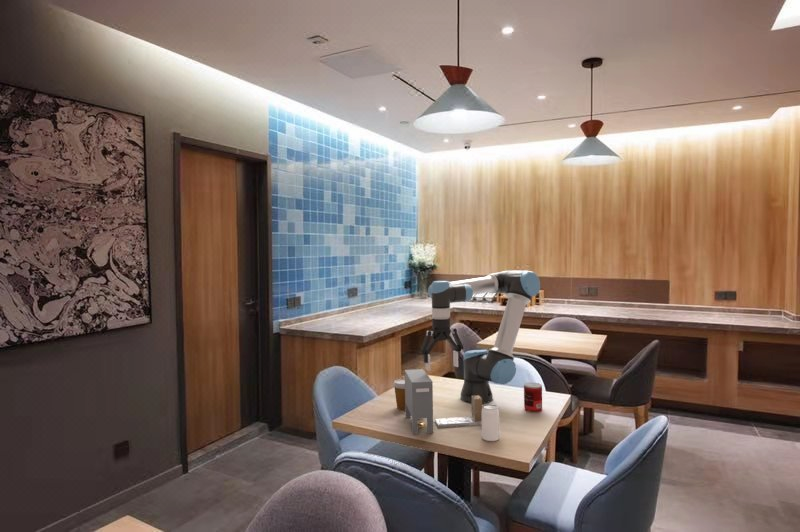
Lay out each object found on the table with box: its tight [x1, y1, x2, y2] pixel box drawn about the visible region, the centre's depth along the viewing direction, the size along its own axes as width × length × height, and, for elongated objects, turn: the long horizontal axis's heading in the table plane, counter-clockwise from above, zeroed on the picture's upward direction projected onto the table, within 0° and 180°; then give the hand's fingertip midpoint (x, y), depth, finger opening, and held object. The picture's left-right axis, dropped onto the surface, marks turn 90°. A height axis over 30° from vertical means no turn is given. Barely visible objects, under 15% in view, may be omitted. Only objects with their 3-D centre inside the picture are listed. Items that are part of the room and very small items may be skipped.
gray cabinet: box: [404, 368, 434, 435], centre depth 196 cm, size 8×22×20 cm, turn 7°
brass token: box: [418, 420, 426, 429], centre depth 195 cm, size 5×5×1 cm
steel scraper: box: [434, 395, 483, 429], centre depth 197 cm, size 19×7×10 cm, turn 97°
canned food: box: [523, 381, 543, 413], centre depth 213 cm, size 8×8×11 cm
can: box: [481, 403, 500, 442], centre depth 180 cm, size 6×6×12 cm
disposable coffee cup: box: [392, 378, 405, 411], centre depth 218 cm, size 10×10×12 cm
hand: (442, 368), depth 202 cm, fingers open, 13 cm apart
